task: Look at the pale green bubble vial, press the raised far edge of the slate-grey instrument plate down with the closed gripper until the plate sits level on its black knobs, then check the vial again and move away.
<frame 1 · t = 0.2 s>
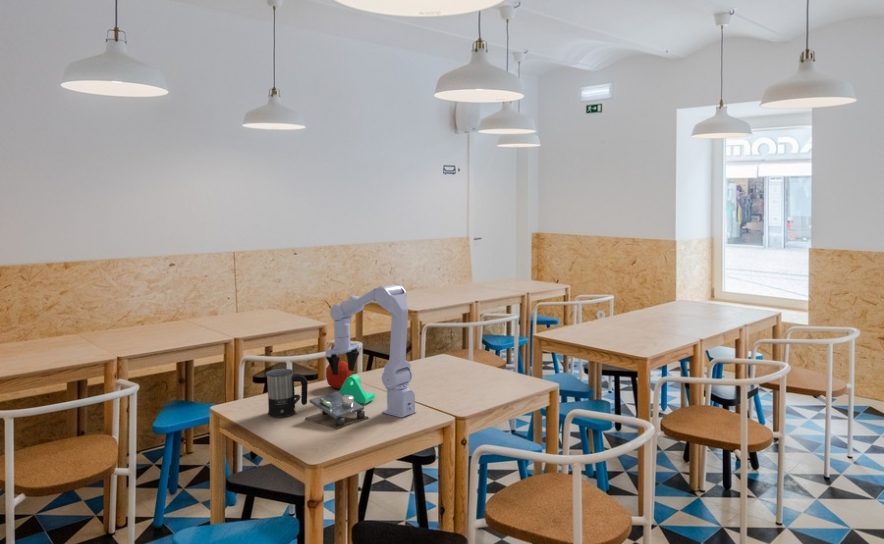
hand: (343, 372, 245), 10 cm above the table, tool pointing down, fingers open, 7 cm apart
camera mount: (356, 402, 243), on the table
apple: (339, 388, 262), on the table
stand base: (336, 418, 223), on the table
level plate: (337, 400, 222), point 6 cm above the table, hinge at 12.0°
milk frother: (284, 410, 234), on the table
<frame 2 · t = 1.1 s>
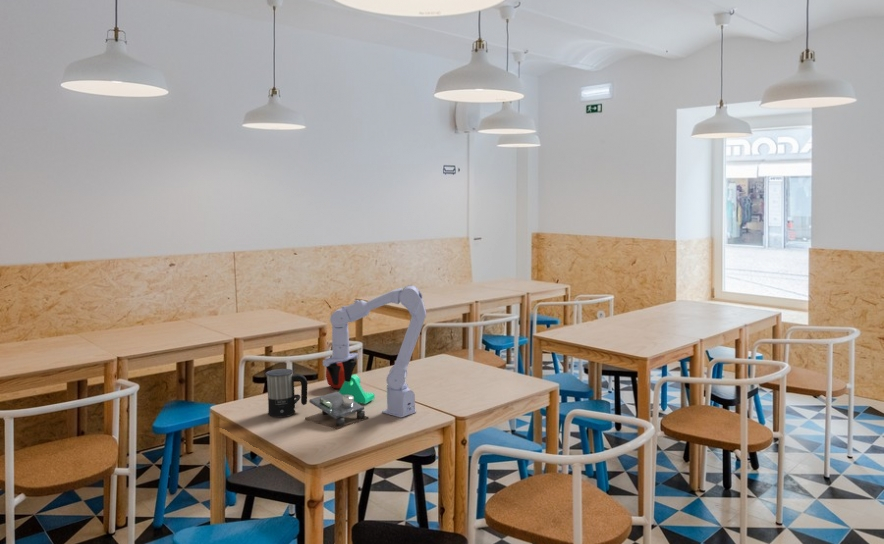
hand: (341, 382, 229), 10 cm above the table, tool pointing down, fingers open, 5 cm apart
nothing on the table moved.
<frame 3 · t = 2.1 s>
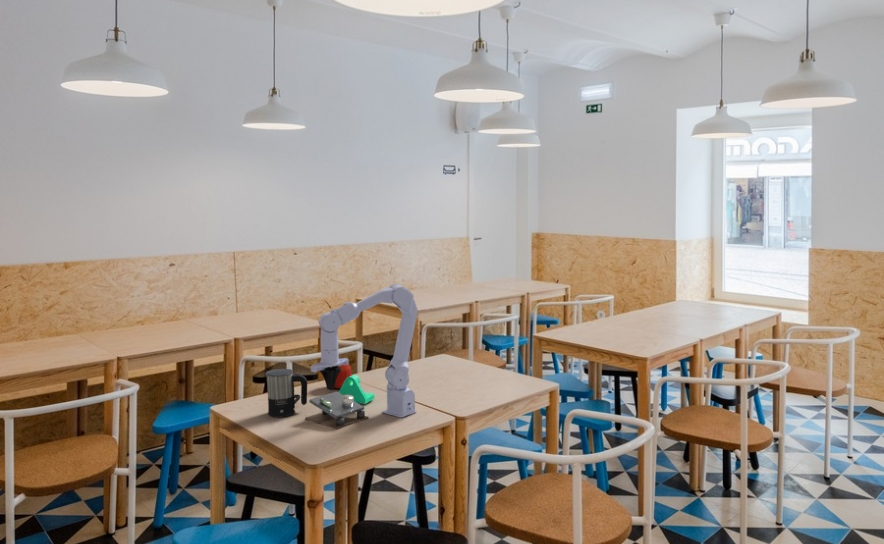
hand: (330, 389, 221), 10 cm above the table, tool pointing down, fingers closed
nothing on the table moved.
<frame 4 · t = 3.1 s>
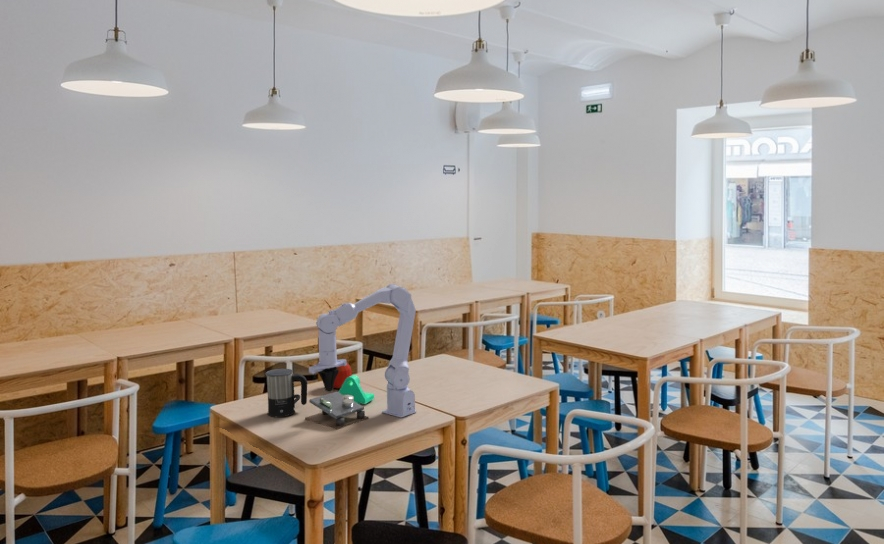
hand: (328, 390, 220), 10 cm above the table, tool pointing down, fingers closed
nothing on the table moved.
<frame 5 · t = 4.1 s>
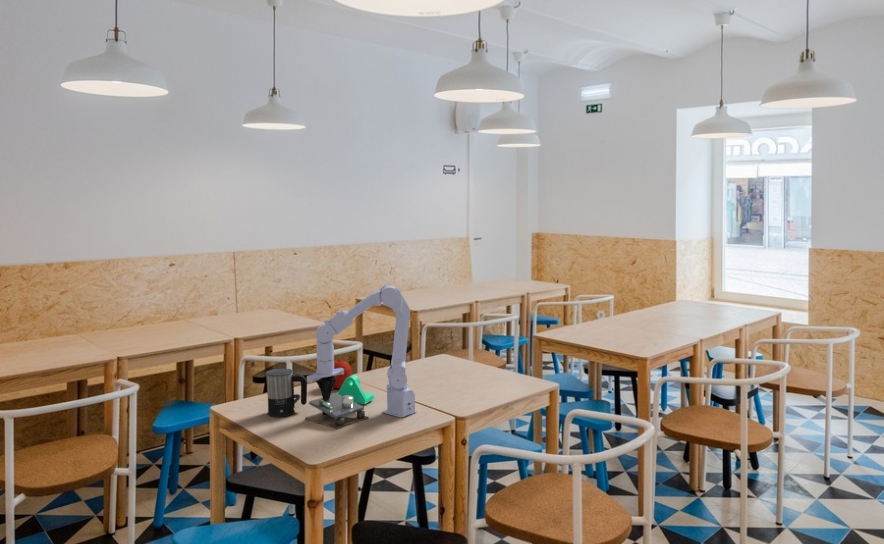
hand: (326, 398, 226), 6 cm above the table, tool pointing down, fingers closed, pressing on level plate
level plate: (336, 401, 223), point 6 cm above the table, hinge at 9.1°, touching gripper
everything else where it was.
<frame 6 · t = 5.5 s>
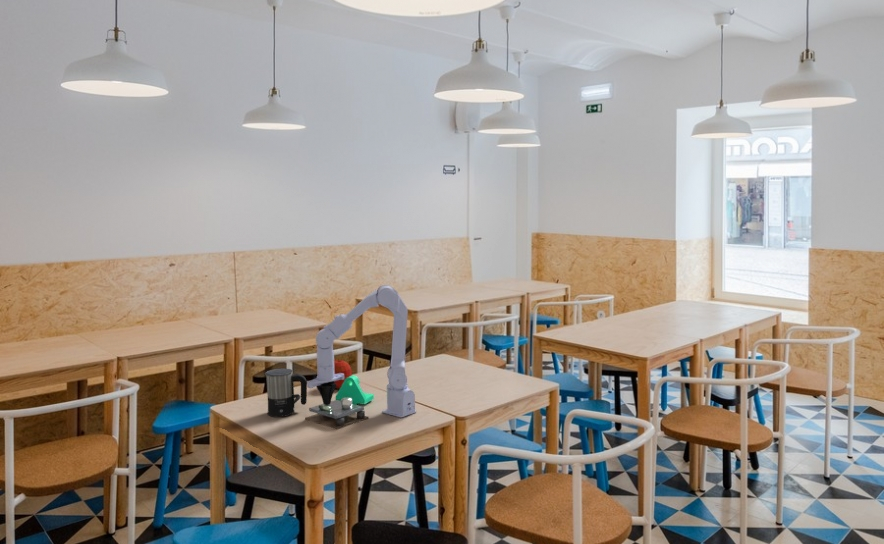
hand: (326, 404, 226), 4 cm above the table, tool pointing down, fingers closed
level plate: (336, 404, 223), point 5 cm above the table, hinge at -0.7°
everything else where it was.
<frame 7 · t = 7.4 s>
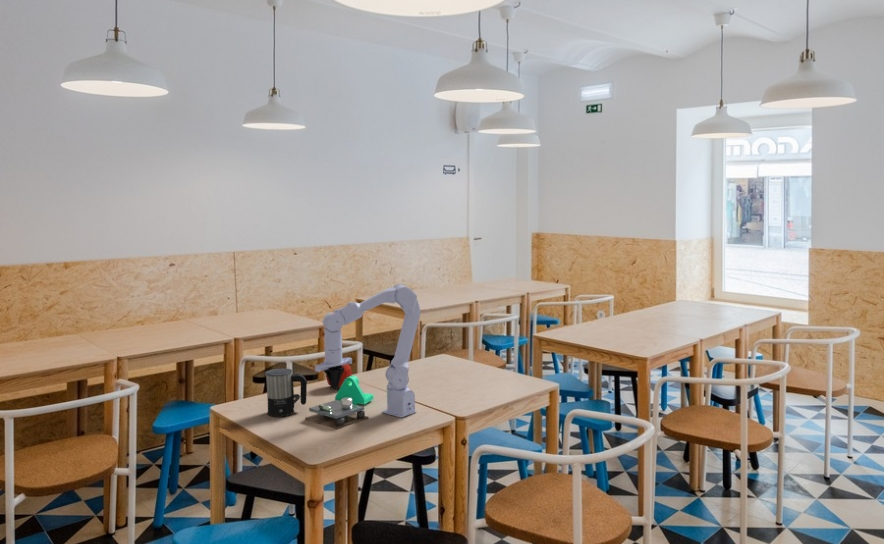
hand: (334, 388, 223), 10 cm above the table, tool pointing down, fingers closed
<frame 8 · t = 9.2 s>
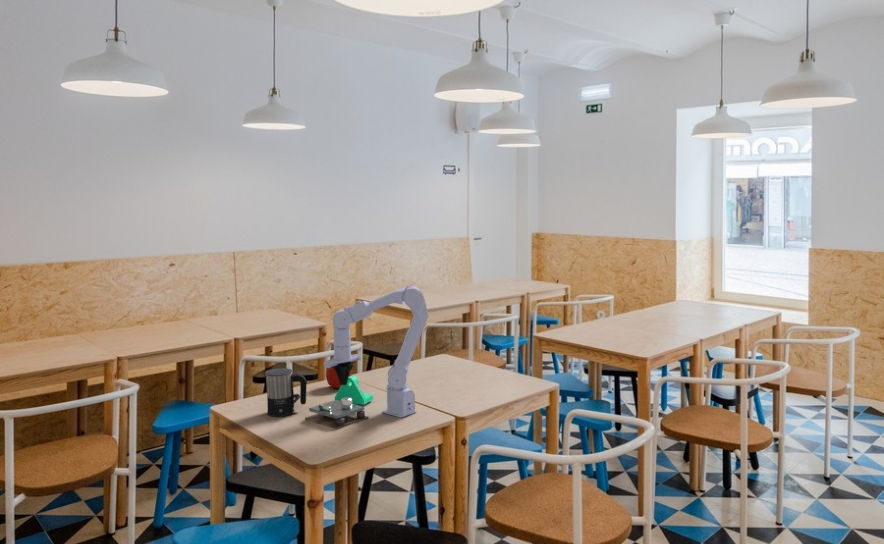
hand: (343, 384, 227), 10 cm above the table, tool pointing down, fingers closed
at the end: level plate at -1° (first picture: +12°) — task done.
